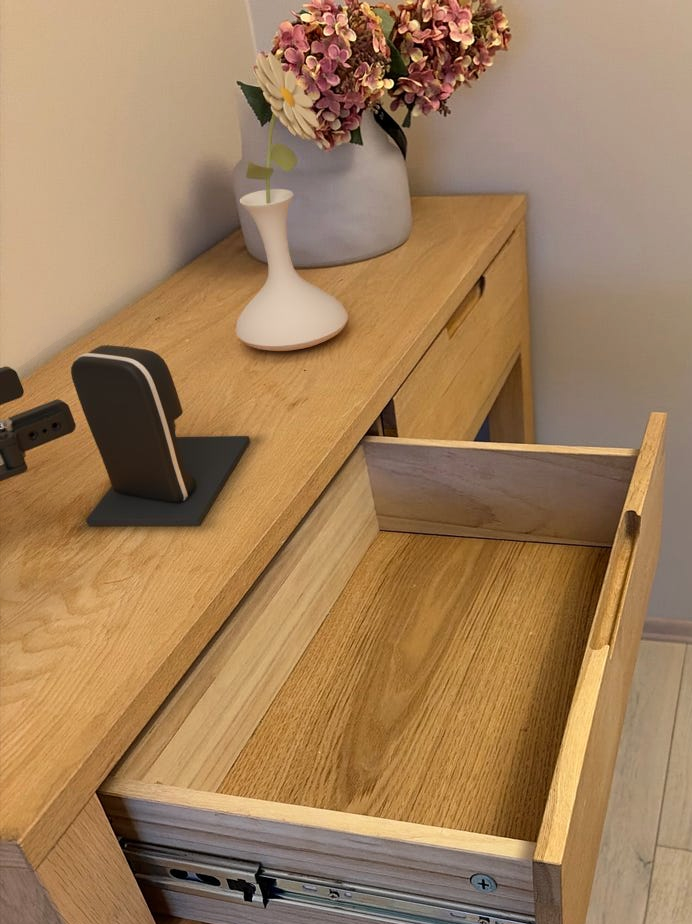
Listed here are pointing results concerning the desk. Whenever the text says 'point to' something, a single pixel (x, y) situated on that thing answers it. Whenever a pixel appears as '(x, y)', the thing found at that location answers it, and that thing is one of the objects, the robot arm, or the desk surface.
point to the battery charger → (134, 420)
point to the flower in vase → (284, 235)
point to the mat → (210, 470)
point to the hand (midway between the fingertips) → (43, 396)
